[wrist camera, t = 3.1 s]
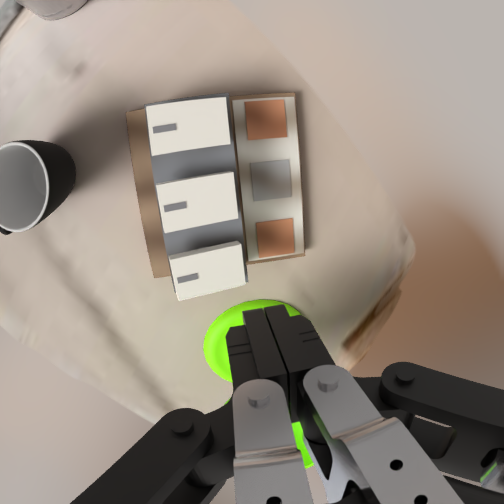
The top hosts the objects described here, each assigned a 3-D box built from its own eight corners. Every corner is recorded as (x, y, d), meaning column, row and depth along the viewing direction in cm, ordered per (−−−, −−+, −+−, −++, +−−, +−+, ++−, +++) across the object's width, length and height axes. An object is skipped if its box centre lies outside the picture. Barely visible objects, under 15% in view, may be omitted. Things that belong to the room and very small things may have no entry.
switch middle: (155, 183, 27) (156, 185, 26) (228, 170, 30) (233, 172, 28) (163, 229, 29) (165, 233, 28) (233, 214, 31) (238, 218, 30)
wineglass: (281, 278, 42) (329, 366, 26) (324, 352, 48) (370, 436, 32) (181, 334, 43) (179, 437, 26) (238, 397, 49) (257, 487, 32)
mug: (50, 123, 30) (7, 123, 21) (98, 166, 33) (65, 177, 24) (6, 199, 32) (-38, 220, 23) (50, 239, 35) (13, 271, 26)
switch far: (168, 254, 30) (170, 260, 29) (236, 239, 32) (241, 244, 31) (176, 294, 32) (178, 301, 30) (240, 278, 34) (245, 284, 32)
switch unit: (128, 113, 32) (114, 108, 26) (291, 94, 34) (309, 87, 28) (155, 273, 39) (148, 297, 33) (301, 251, 41) (318, 272, 35)
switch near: (146, 108, 25) (146, 106, 23) (221, 99, 27) (226, 96, 26) (151, 155, 26) (152, 155, 25) (225, 144, 29) (230, 144, 27)
